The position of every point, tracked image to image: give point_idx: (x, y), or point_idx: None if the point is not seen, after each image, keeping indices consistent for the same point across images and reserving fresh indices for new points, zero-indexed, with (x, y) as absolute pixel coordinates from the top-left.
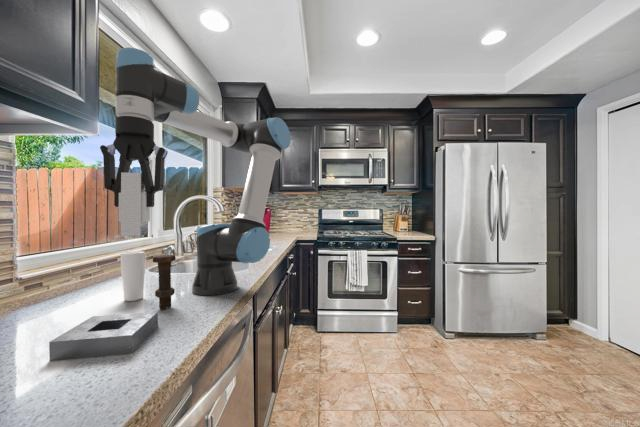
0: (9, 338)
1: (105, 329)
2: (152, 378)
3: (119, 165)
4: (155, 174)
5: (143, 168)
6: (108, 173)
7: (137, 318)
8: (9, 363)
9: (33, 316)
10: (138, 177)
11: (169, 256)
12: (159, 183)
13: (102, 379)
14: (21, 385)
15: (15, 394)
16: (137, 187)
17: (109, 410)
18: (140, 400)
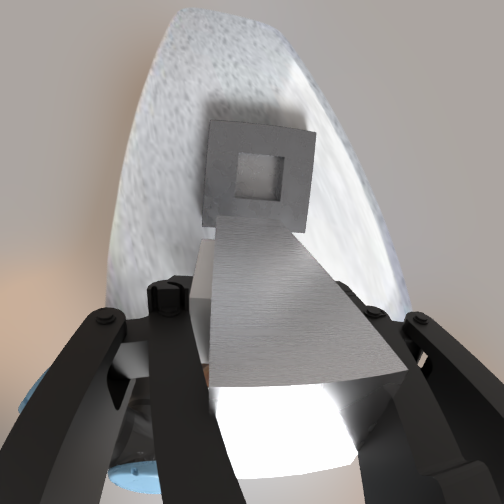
0: (386, 235)
1: (273, 199)
2: (169, 56)
3: (451, 437)
4: (79, 392)
5: (195, 463)
6: (465, 369)
7: (226, 197)
8: (349, 146)
9: (390, 314)
10: (234, 348)
11: (206, 366)
12: (79, 332)
13: (223, 66)
14: (304, 82)
15: (298, 66)
16: (238, 299)
17: (196, 18)
18: (173, 25)
